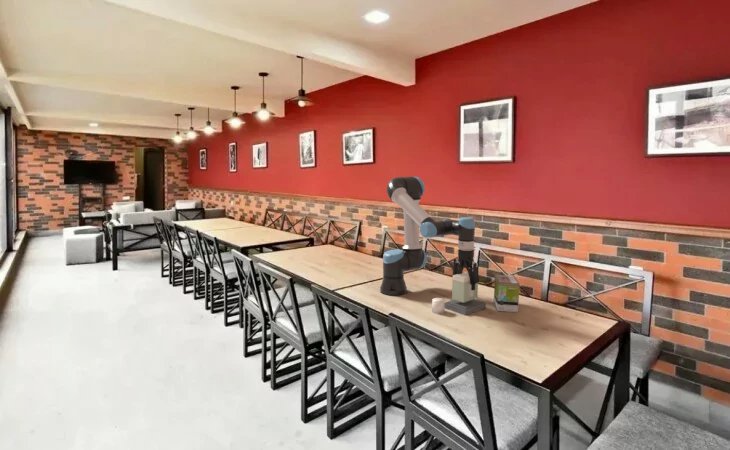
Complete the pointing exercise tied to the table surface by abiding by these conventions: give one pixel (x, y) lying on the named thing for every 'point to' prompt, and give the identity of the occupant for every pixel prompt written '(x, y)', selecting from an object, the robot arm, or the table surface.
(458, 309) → the podium
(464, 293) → the carton
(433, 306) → the cream rounded domed part
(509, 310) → the tea box
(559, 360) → the table surface
